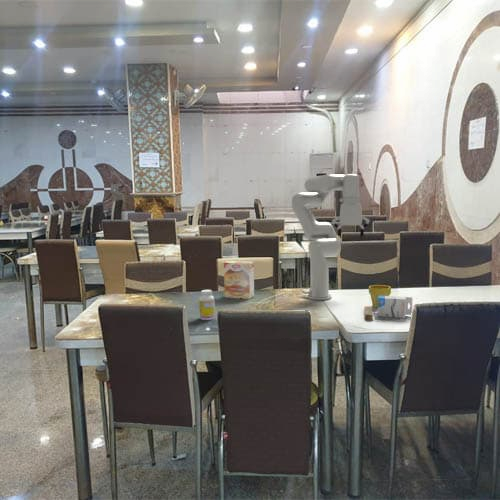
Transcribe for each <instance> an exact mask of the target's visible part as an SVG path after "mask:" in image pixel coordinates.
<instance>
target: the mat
mask: <svg viewBox="0 0 500 500" xmlns="http://www.w3.org/2000/svg"><path fill="white" fill-rule="evenodd" d="M373 316H374V317H373V318H374V320H377V321H379V320H380V321H381V320H383V321H384V320H386V321H402V317H383V316H378V311H377V312H373Z"/></svg>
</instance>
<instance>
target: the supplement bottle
mask: <svg viewBox="0 0 500 500" xmlns="http://www.w3.org/2000/svg"><path fill="white" fill-rule="evenodd" d="M200 293H201V295H200V296H199V299H198V300H199V318H200V320H202V321H210V320H214V319H215V317H216V316H215V315H216V314H215V311H216V310H215V297H214V296H213V295H212V294H213V291H212V289H203V290H201V291H200Z"/></svg>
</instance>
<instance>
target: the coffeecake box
mask: <svg viewBox="0 0 500 500" xmlns="http://www.w3.org/2000/svg"><path fill="white" fill-rule="evenodd" d="M254 265H255V263H254V261H244V260H243V261H242V260H227V261H224V262H223V281H224V285H223V286H224V288H223V289H224V298H226V299H227V298H229V299H240V298H242V299H243V300H251V299H253V298H254V297H255V272H254V271H255V269H254V268H255V267H254ZM253 296H254V297H253ZM252 297H253V298H252ZM250 298H251V299H250Z"/></svg>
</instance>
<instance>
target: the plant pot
mask: <svg viewBox="0 0 500 500" xmlns="http://www.w3.org/2000/svg"><path fill="white" fill-rule="evenodd" d="M391 293H392V287H391V286H390V285H384V284H373V285H369V286H368V294H369V295H370V299H371V304H372V307H374V308H377V309H378V296H391Z"/></svg>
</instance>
